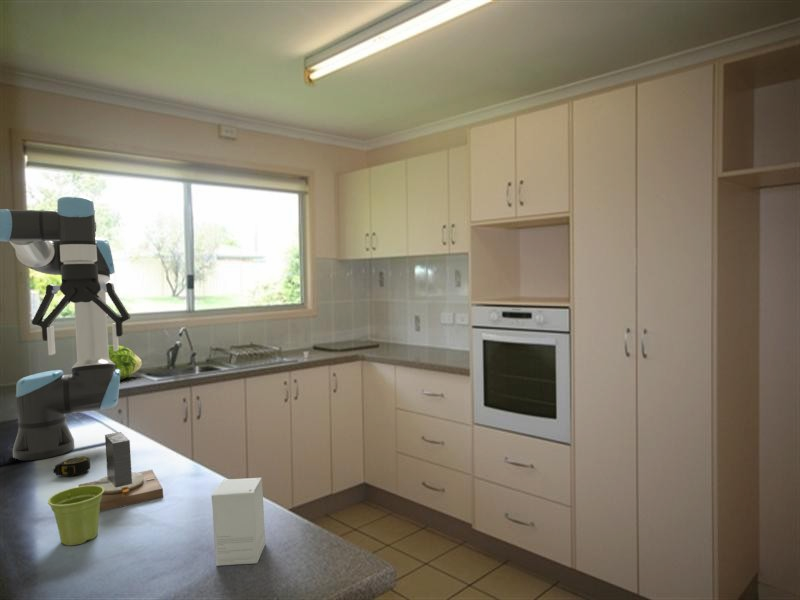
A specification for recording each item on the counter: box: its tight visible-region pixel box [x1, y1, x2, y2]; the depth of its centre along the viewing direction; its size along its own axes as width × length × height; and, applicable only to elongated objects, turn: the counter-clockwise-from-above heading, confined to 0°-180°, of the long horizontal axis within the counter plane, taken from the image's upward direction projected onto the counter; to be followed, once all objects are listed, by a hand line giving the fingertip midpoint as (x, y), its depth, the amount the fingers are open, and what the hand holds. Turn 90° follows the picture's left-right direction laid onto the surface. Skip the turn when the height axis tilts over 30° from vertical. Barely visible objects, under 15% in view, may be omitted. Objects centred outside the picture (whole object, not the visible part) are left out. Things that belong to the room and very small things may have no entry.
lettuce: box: [108, 344, 143, 381], centre depth 274 cm, size 19×23×18 cm
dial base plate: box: [77, 469, 164, 512], centre depth 126 cm, size 15×16×2 cm
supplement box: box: [211, 477, 266, 567], centre depth 97 cm, size 7×7×13 cm
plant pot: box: [47, 485, 104, 546], centre depth 105 cm, size 9×9×9 cm
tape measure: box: [52, 456, 91, 477], centre depth 141 cm, size 7×7×4 cm
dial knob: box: [95, 431, 144, 494], centre depth 125 cm, size 10×12×11 cm
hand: (84, 352), depth 130 cm, fingers open, 13 cm apart
